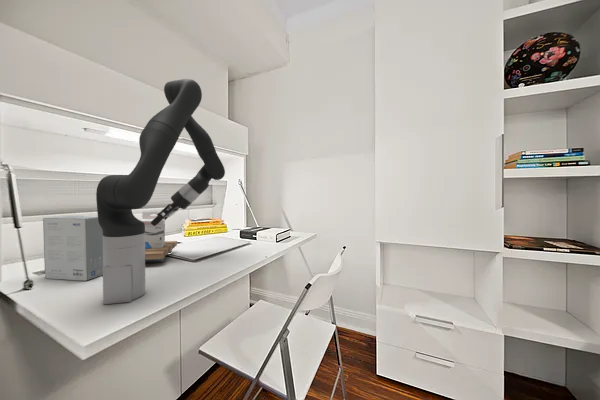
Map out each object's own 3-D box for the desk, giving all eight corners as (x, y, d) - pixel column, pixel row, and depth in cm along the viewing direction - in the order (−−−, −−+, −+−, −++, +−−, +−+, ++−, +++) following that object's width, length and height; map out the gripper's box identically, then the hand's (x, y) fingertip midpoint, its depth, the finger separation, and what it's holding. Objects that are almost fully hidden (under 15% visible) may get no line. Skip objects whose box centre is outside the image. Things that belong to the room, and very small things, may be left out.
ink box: (139, 249, 93) (138, 213, 93) (141, 246, 98) (141, 211, 97) (163, 247, 97) (163, 212, 96) (165, 245, 101) (165, 211, 101)
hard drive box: (109, 273, 81) (108, 216, 80) (86, 281, 73) (85, 218, 72) (69, 270, 82) (67, 214, 81) (43, 278, 75) (41, 217, 74)
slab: (162, 258, 88) (162, 253, 88) (119, 260, 85) (119, 255, 85) (176, 245, 110) (176, 240, 110) (143, 246, 106) (143, 242, 106)
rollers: (163, 262, 93) (163, 255, 93) (128, 264, 90) (128, 257, 89) (172, 254, 105) (172, 247, 105) (141, 255, 102) (141, 248, 102)
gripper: (183, 189, 106) (154, 214, 103) (174, 189, 92) (142, 218, 90) (195, 201, 107) (168, 226, 105) (189, 203, 94) (157, 232, 91)
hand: (156, 222), depth 97 cm, fingers open, 8 cm apart
